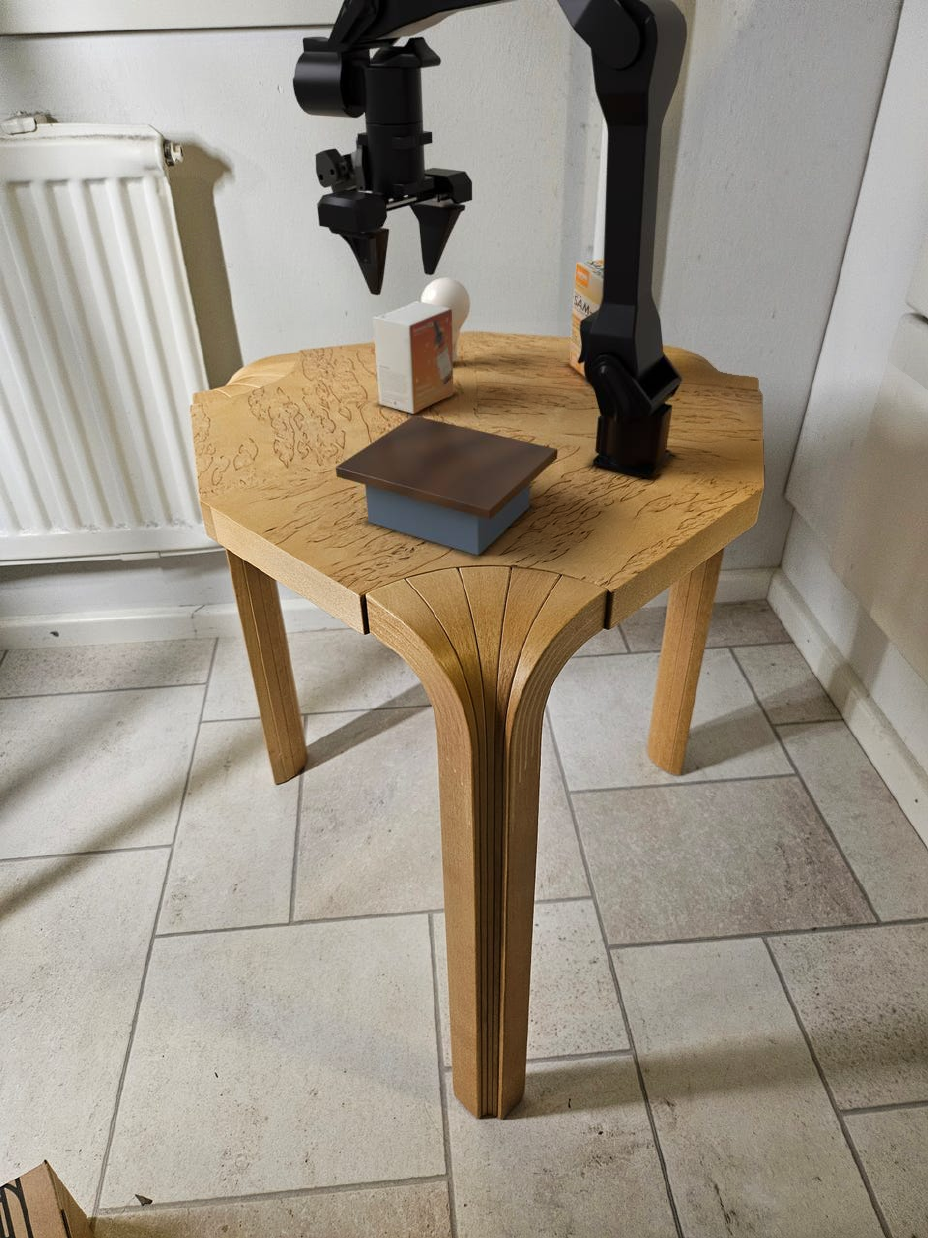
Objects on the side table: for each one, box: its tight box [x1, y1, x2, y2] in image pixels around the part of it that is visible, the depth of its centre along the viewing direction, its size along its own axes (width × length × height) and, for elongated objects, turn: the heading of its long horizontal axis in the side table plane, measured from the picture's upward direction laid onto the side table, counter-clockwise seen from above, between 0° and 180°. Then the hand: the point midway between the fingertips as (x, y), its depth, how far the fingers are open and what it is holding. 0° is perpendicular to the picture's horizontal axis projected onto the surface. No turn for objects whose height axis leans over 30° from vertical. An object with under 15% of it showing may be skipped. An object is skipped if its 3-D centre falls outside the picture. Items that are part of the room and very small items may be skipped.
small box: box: [372, 300, 454, 415], centre depth 101 cm, size 8×6×10 cm
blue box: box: [364, 483, 531, 556], centre depth 80 cm, size 12×10×5 cm
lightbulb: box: [420, 276, 471, 363], centre depth 111 cm, size 6×6×11 cm
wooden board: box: [335, 415, 559, 520], centre depth 79 cm, size 16×13×1 cm
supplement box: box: [569, 259, 604, 378], centre depth 106 cm, size 8×5×13 cm, turn 17°
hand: (403, 283), depth 94 cm, fingers open, 9 cm apart
